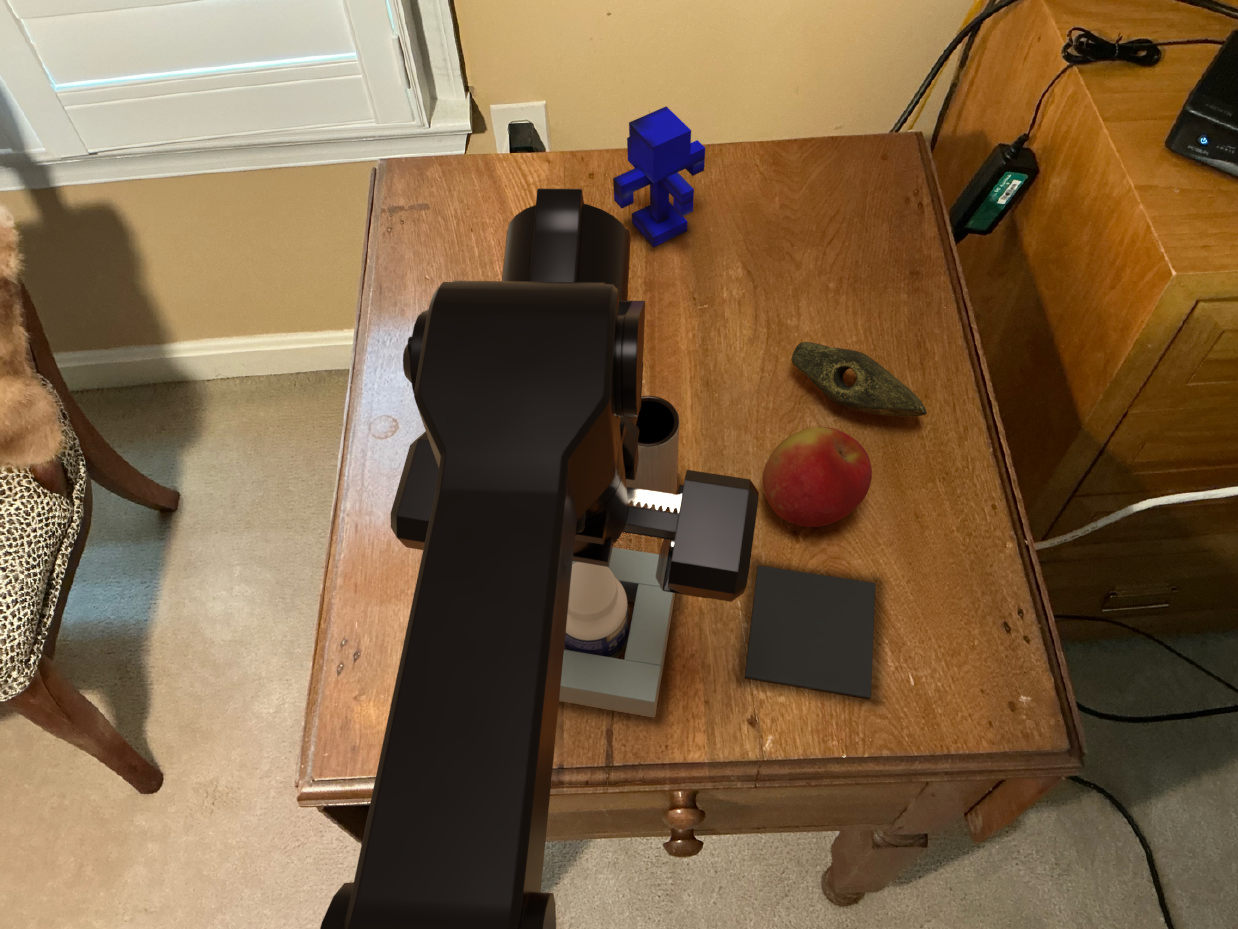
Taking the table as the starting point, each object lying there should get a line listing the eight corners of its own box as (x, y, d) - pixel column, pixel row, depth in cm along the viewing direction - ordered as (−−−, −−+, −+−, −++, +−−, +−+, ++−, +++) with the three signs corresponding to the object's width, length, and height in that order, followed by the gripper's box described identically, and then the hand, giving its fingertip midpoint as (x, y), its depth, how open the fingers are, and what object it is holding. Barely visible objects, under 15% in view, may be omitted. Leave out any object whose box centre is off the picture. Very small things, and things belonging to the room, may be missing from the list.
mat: (869, 699, 63) (870, 697, 63) (744, 678, 64) (745, 676, 64) (874, 584, 68) (875, 582, 68) (757, 567, 69) (757, 565, 69)
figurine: (703, 206, 90) (709, 104, 80) (689, 260, 86) (693, 160, 76) (631, 196, 91) (628, 94, 81) (613, 248, 87) (608, 148, 77)
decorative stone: (790, 432, 75) (799, 398, 71) (787, 361, 79) (794, 325, 75) (922, 435, 75) (938, 401, 70) (911, 363, 79) (926, 327, 74)
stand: (654, 718, 63) (654, 702, 60) (506, 692, 65) (498, 675, 61) (677, 578, 69) (678, 556, 65) (540, 557, 70) (534, 534, 67)
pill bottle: (622, 673, 65) (618, 630, 57) (553, 661, 66) (540, 617, 58) (635, 606, 68) (632, 557, 60) (568, 596, 68) (557, 546, 61)
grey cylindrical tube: (670, 518, 71) (672, 451, 63) (616, 508, 72) (610, 440, 63) (681, 471, 74) (684, 400, 65) (628, 461, 74) (625, 390, 66)
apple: (850, 555, 69) (871, 506, 62) (749, 528, 71) (759, 478, 64) (866, 475, 73) (888, 421, 66) (770, 451, 74) (781, 396, 68)
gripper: (787, 336, 42) (755, 457, 56) (409, 285, 44) (472, 415, 58) (758, 562, 38) (731, 630, 52) (345, 495, 40) (429, 578, 54)
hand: (587, 555), depth 54 cm, fingers open, 9 cm apart
